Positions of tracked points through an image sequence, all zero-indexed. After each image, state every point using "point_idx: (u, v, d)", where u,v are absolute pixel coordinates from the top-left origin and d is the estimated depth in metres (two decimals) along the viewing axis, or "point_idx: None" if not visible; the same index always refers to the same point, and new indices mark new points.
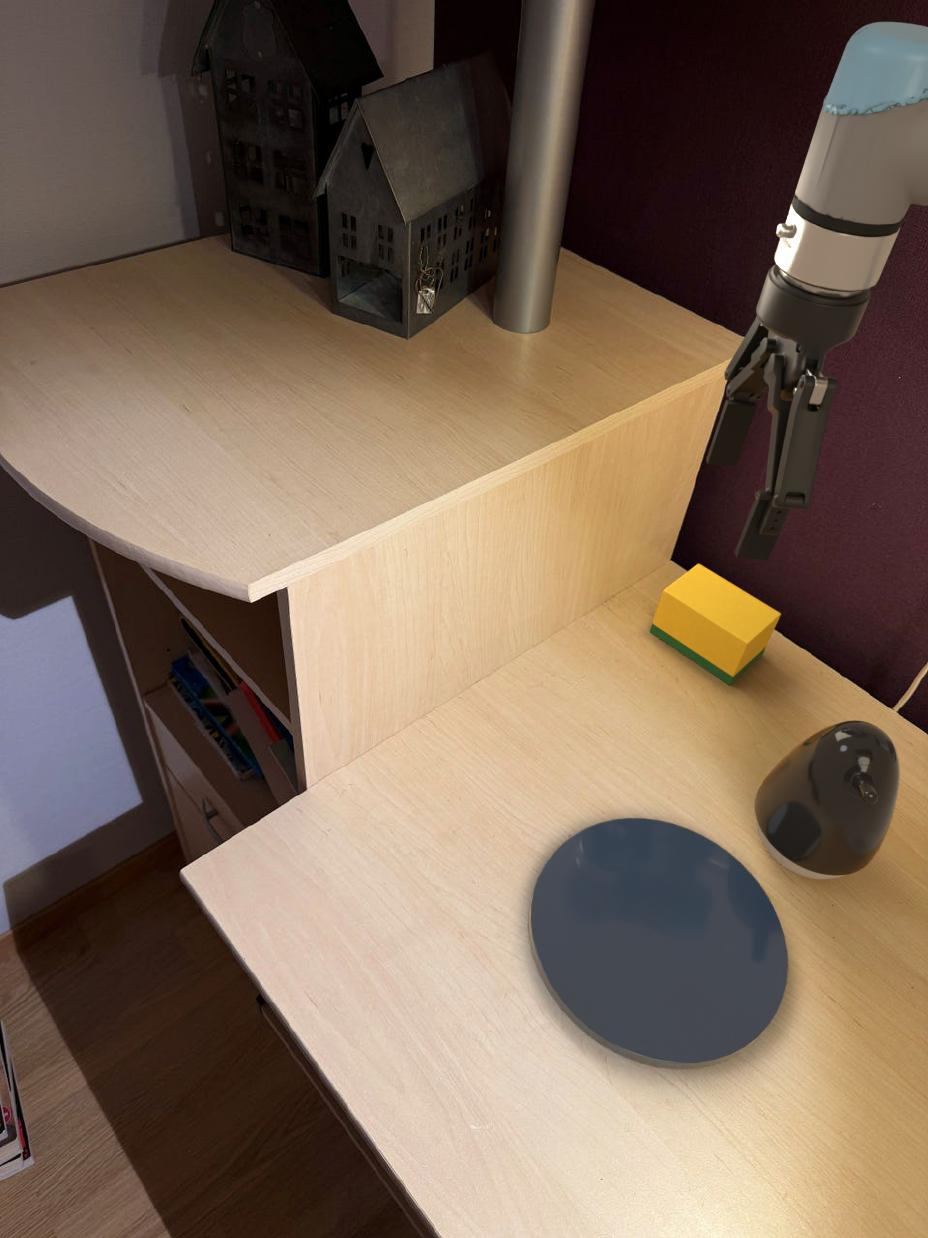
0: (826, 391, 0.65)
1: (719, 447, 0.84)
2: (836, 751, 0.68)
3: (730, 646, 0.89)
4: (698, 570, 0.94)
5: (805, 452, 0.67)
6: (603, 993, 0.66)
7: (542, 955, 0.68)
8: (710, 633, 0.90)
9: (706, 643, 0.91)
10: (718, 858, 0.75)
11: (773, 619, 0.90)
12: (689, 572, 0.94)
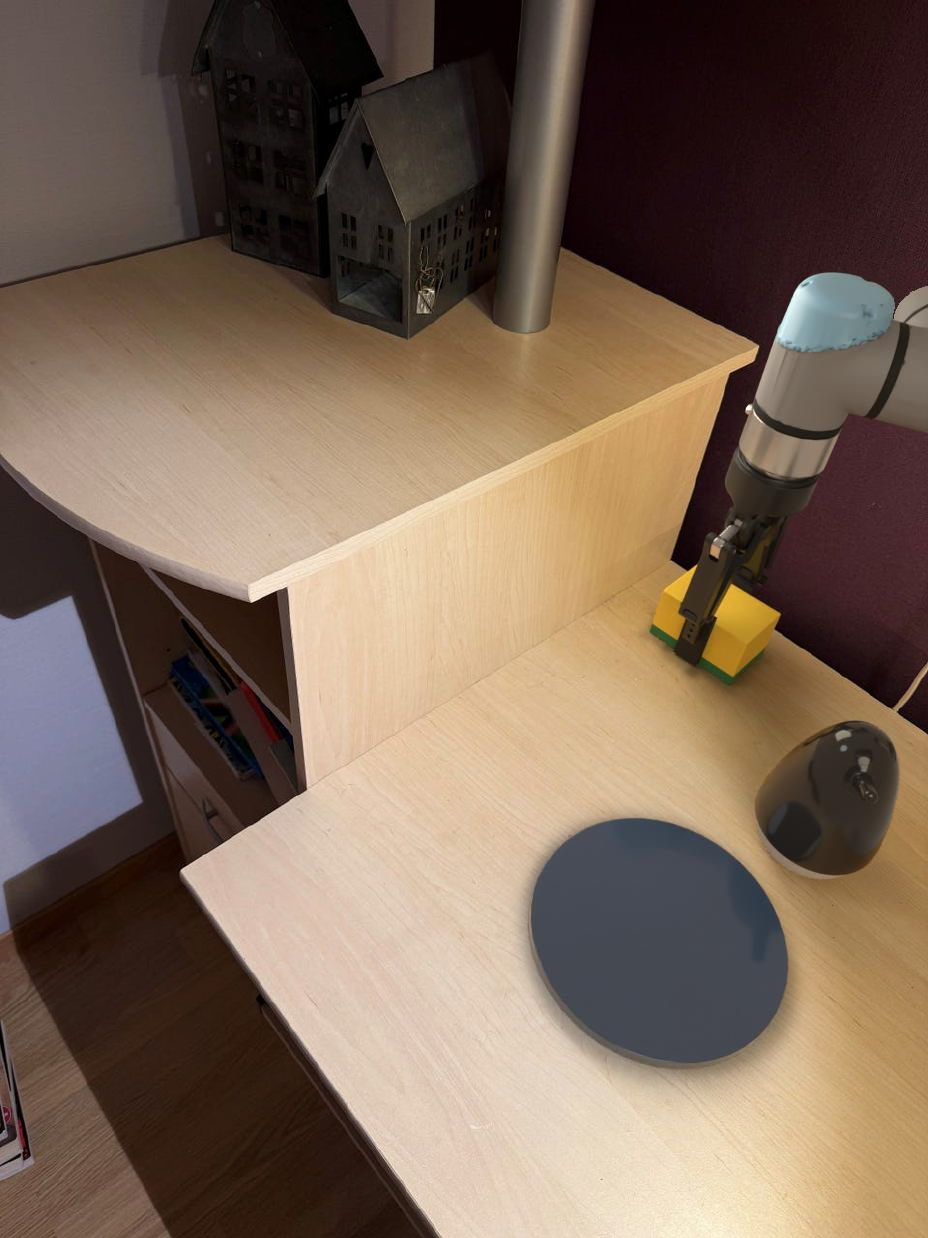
0: (720, 552, 0.80)
1: None
2: (836, 751, 0.68)
3: (730, 647, 0.89)
4: None
5: (702, 587, 0.83)
6: (603, 993, 0.66)
7: (542, 955, 0.68)
8: None
9: None
10: (718, 858, 0.75)
11: (773, 619, 0.90)
12: (689, 572, 0.94)
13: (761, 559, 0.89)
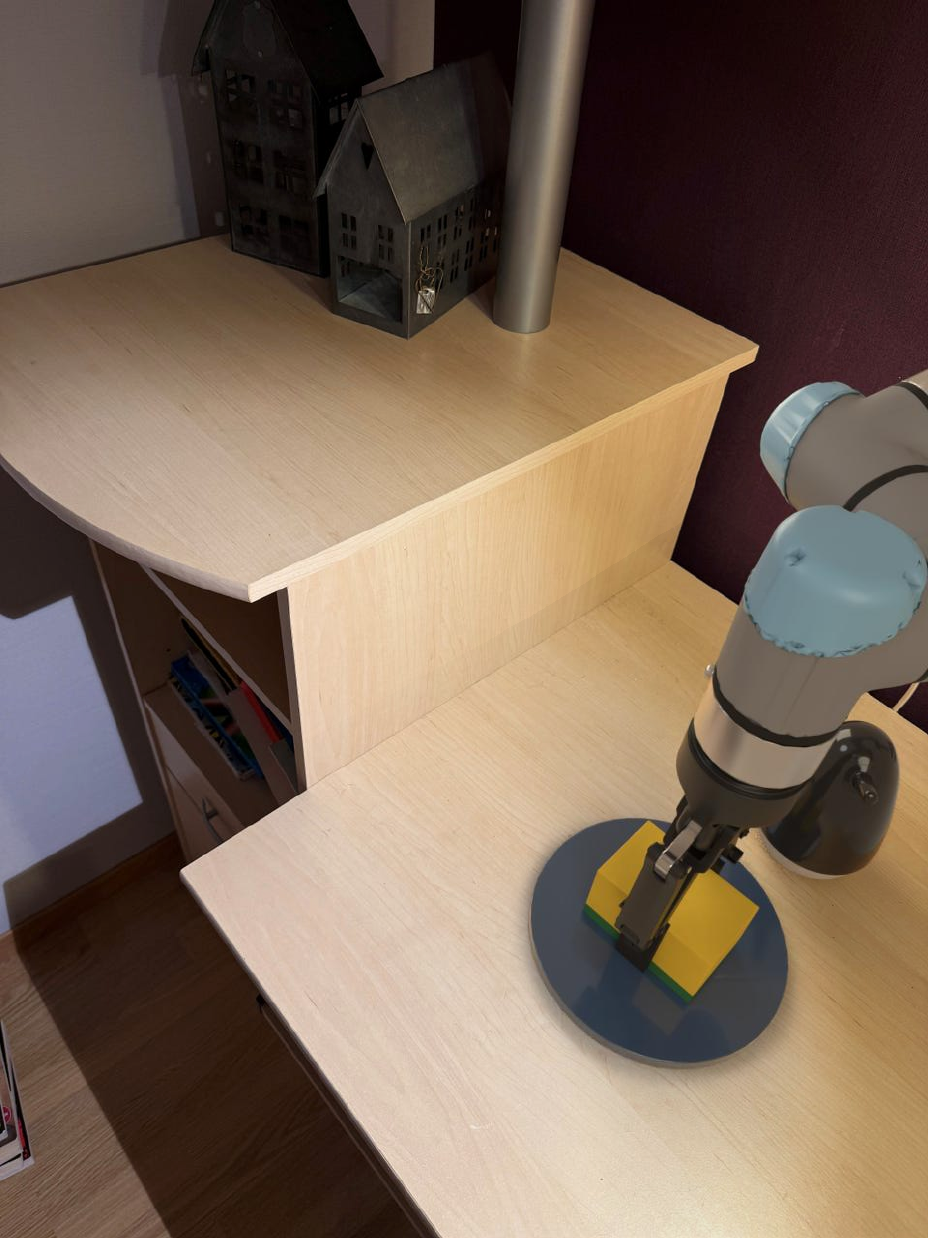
0: (667, 876, 0.55)
1: None
2: (836, 751, 0.68)
3: (687, 962, 0.64)
4: (648, 833, 0.69)
5: (645, 906, 0.58)
6: (603, 993, 0.66)
7: (542, 955, 0.68)
8: None
9: None
10: None
11: (748, 918, 0.65)
12: (635, 837, 0.69)
13: None
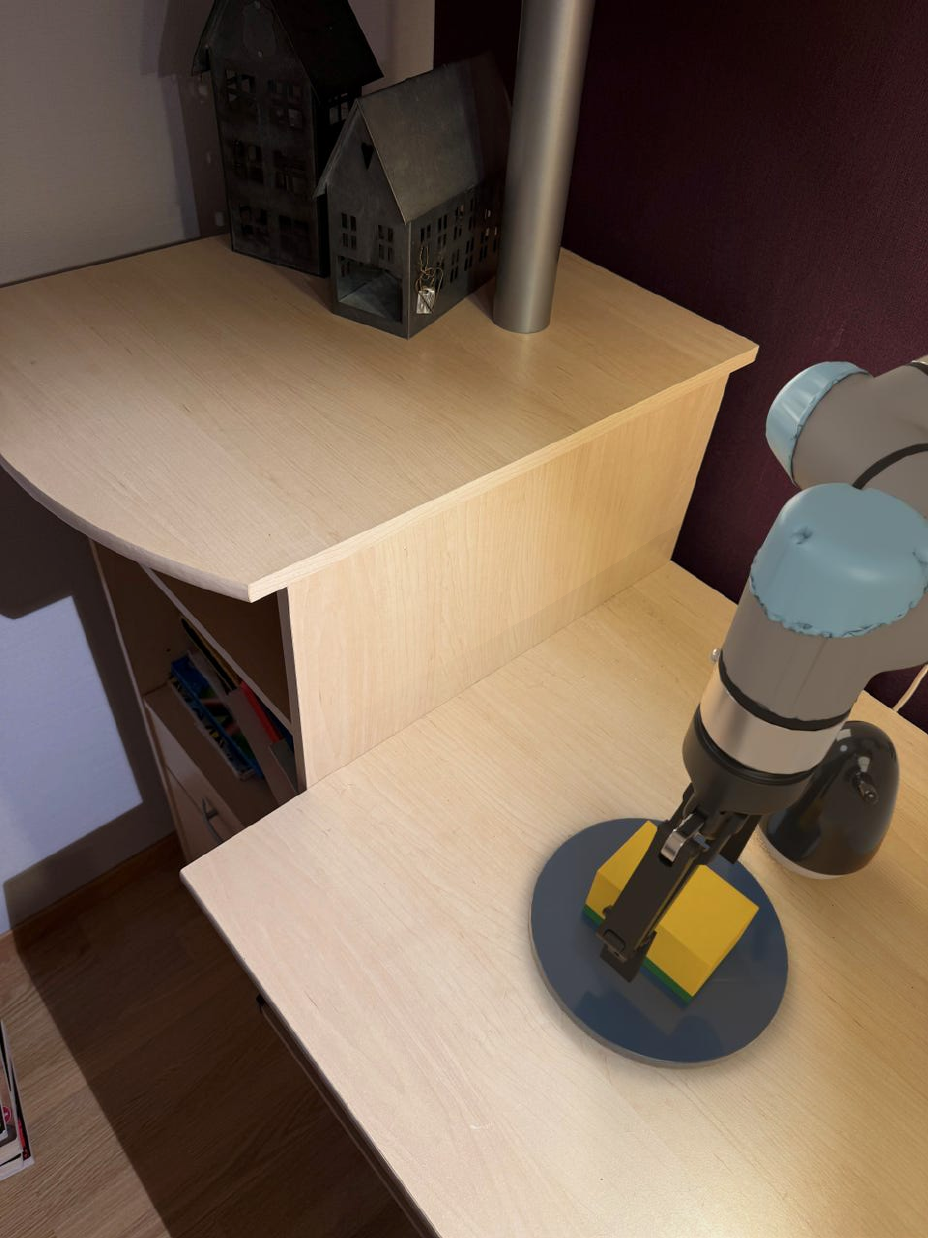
0: (678, 853, 0.53)
1: None
2: (836, 751, 0.68)
3: (687, 962, 0.64)
4: (647, 833, 0.69)
5: (640, 901, 0.55)
6: (603, 993, 0.66)
7: (542, 955, 0.68)
8: (661, 939, 0.65)
9: (656, 948, 0.66)
10: (718, 858, 0.75)
11: (748, 919, 0.65)
12: (635, 837, 0.69)
13: None
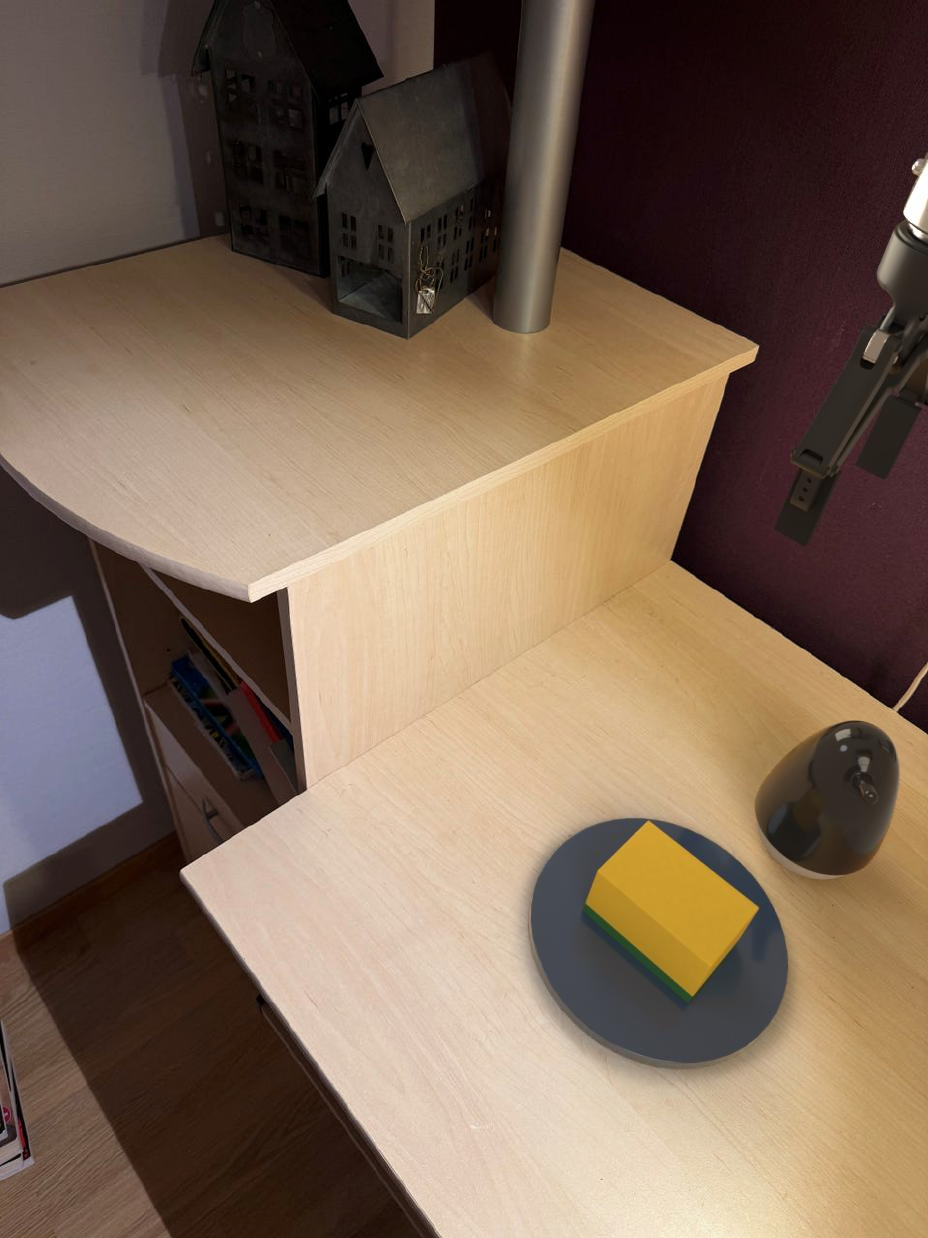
0: (883, 348, 0.58)
1: (870, 448, 0.75)
2: (836, 751, 0.68)
3: (687, 962, 0.64)
4: (647, 833, 0.69)
5: (840, 411, 0.60)
6: (603, 993, 0.66)
7: (542, 955, 0.68)
8: (661, 939, 0.65)
9: (656, 948, 0.66)
10: (718, 858, 0.75)
11: (748, 919, 0.65)
12: (635, 837, 0.69)
13: (927, 379, 0.68)
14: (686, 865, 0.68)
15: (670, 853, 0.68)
